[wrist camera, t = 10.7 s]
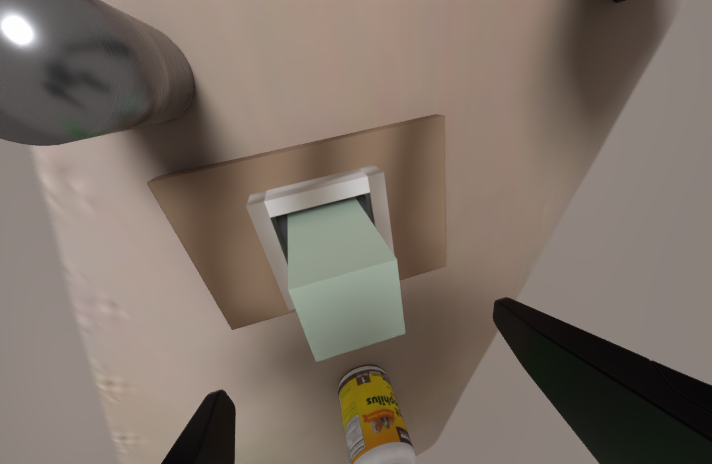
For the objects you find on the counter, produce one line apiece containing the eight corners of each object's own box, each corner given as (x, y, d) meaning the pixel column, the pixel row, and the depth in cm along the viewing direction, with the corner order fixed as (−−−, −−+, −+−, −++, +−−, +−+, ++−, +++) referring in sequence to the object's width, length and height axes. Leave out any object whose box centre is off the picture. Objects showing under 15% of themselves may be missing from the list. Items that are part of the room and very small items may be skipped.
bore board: (435, 114, 18) (462, 117, 15) (439, 258, 24) (459, 280, 21) (155, 177, 16) (128, 194, 13) (234, 318, 22) (227, 351, 19)
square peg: (354, 195, 18) (396, 259, 11) (364, 251, 20) (405, 333, 13) (287, 212, 17) (288, 290, 10) (305, 267, 20) (315, 362, 13)
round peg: (99, -4, 12) (-146, -134, 5) (205, 57, 14) (126, 20, 7) (82, 92, 14) (-134, 90, 7) (180, 137, 15) (93, 171, 8)
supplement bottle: (395, 368, 30) (442, 486, 21) (367, 400, 31) (399, 522, 22) (355, 357, 27) (389, 484, 18) (326, 392, 29) (344, 525, 20)
